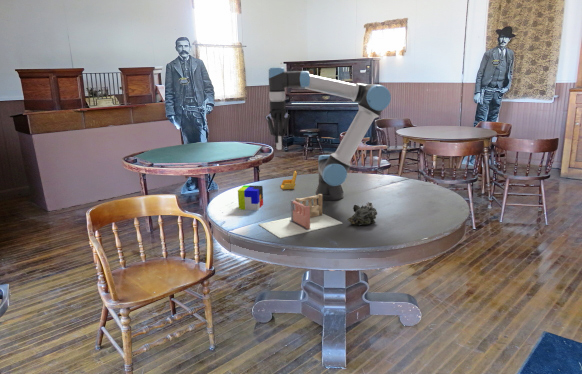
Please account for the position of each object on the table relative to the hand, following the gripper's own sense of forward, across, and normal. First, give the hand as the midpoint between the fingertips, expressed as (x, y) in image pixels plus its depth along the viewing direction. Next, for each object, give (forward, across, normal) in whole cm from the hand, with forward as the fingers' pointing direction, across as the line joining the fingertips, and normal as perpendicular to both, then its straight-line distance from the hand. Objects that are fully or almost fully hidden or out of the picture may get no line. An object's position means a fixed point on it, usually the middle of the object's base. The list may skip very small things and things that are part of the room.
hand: (279, 149), depth 218 cm
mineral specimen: (+30, -18, +42) cm, 54 cm away
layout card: (+29, +6, +29) cm, 42 cm away
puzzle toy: (+30, +13, -8) cm, 33 cm away
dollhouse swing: (+30, -22, -31) cm, 49 cm away
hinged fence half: (+29, +7, +30) cm, 42 cm away
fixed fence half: (+29, -2, +24) cm, 38 cm away
